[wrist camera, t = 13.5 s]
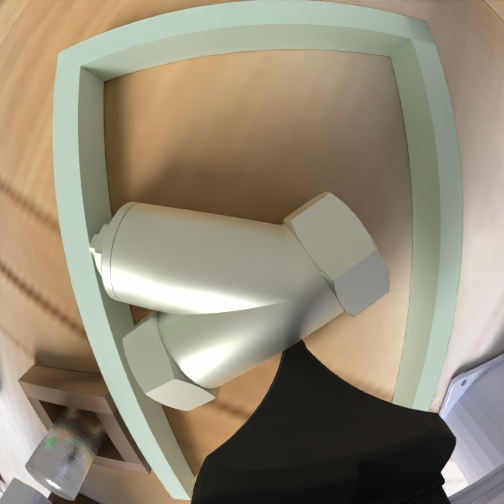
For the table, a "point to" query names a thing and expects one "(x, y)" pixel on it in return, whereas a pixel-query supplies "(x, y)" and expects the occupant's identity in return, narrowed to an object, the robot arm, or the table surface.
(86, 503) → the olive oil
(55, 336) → the table surface
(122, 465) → the tan square frame
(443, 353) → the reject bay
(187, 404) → the pipe fitting
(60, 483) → the pin
